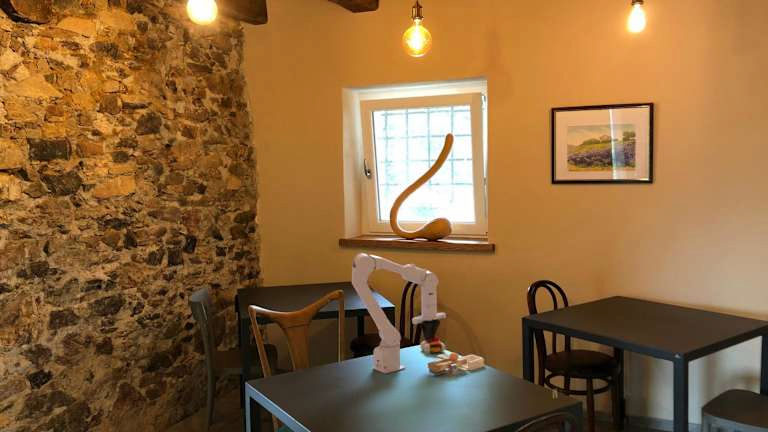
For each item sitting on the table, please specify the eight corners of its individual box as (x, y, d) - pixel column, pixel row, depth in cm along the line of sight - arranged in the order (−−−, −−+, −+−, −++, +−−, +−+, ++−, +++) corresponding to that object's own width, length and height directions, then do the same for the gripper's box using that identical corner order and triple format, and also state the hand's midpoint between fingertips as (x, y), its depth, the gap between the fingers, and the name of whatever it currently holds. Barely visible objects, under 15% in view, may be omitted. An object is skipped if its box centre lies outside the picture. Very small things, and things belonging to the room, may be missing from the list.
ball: (453, 363, 221) (453, 354, 220) (447, 361, 223) (447, 352, 223) (460, 361, 222) (459, 352, 222) (454, 359, 225) (454, 350, 225)
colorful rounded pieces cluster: (426, 356, 243) (426, 337, 242) (418, 349, 252) (418, 331, 252) (447, 353, 245) (446, 335, 244) (438, 347, 254) (438, 330, 254)
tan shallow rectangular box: (465, 371, 222) (465, 363, 222) (453, 367, 227) (453, 359, 227) (484, 366, 227) (484, 358, 227) (472, 362, 233) (472, 354, 232)
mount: (450, 377, 216) (450, 366, 216) (434, 371, 223) (434, 360, 223) (461, 374, 219) (460, 363, 219) (445, 368, 226) (444, 358, 226)
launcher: (437, 375, 215) (436, 365, 215) (415, 367, 225) (415, 357, 225) (466, 367, 223) (466, 358, 223) (444, 359, 233) (444, 350, 233)
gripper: (420, 308, 222) (421, 345, 223) (450, 302, 230) (451, 338, 231) (408, 305, 228) (409, 341, 229) (438, 300, 236) (439, 335, 237)
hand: (429, 340), depth 230 cm, fingers closed
